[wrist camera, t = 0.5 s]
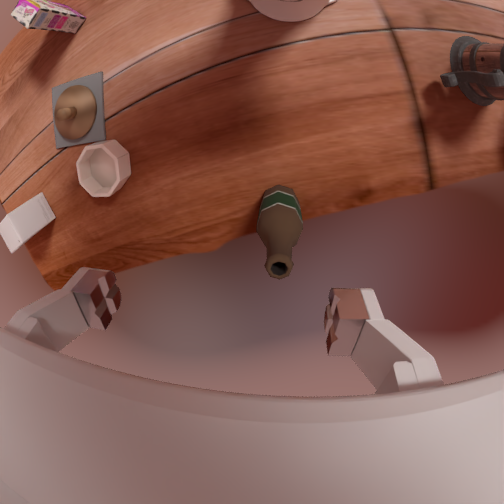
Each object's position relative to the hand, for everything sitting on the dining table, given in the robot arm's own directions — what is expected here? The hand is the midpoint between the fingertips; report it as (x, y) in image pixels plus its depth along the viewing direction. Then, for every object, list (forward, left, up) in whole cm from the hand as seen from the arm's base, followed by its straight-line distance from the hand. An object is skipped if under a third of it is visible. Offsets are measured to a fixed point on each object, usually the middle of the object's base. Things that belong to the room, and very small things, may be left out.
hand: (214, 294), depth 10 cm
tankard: (-22, +43, -46) cm, 67 cm away
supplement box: (+17, -63, -46) cm, 80 cm away
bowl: (+6, -35, -46) cm, 58 cm away
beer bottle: (+14, +3, -46) cm, 48 cm away
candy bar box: (-34, -46, -46) cm, 73 cm away
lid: (-8, -43, -45) cm, 63 cm away
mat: (-8, -43, -46) cm, 63 cm away
